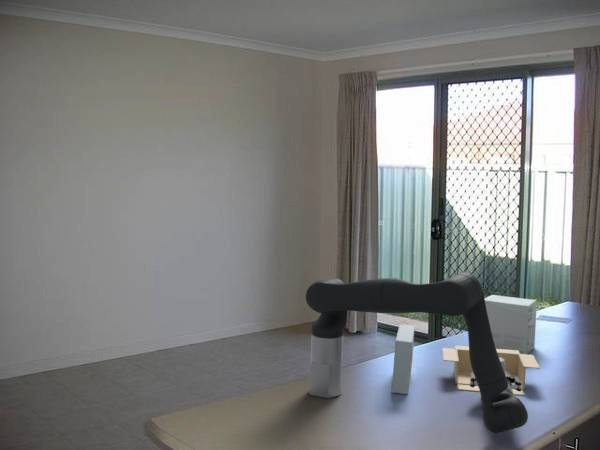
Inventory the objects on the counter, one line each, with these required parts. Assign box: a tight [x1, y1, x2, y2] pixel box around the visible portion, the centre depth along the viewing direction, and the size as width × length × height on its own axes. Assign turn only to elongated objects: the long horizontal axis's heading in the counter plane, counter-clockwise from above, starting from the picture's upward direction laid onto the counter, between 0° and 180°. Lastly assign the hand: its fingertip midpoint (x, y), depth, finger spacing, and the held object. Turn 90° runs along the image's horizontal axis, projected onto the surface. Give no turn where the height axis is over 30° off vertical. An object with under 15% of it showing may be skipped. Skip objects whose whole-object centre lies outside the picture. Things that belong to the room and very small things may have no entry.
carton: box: [442, 345, 541, 397], centre depth 211 cm, size 22×28×8 cm
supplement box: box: [484, 294, 538, 355], centre depth 249 cm, size 17×13×18 cm
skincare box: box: [390, 323, 415, 395], centre depth 207 cm, size 21×5×16 cm, turn 168°
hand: (492, 373), depth 197 cm, fingers closed on beverage can, 6 cm apart
